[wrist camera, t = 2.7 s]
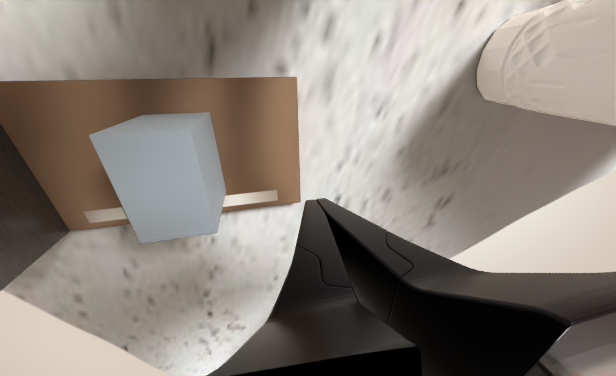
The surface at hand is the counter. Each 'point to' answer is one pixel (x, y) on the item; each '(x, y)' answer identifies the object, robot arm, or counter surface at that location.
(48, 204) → the dark grey slab
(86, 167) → the gauge base
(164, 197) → the pale grey rectangular block
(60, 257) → the counter surface
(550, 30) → the white cup
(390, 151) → the counter surface
